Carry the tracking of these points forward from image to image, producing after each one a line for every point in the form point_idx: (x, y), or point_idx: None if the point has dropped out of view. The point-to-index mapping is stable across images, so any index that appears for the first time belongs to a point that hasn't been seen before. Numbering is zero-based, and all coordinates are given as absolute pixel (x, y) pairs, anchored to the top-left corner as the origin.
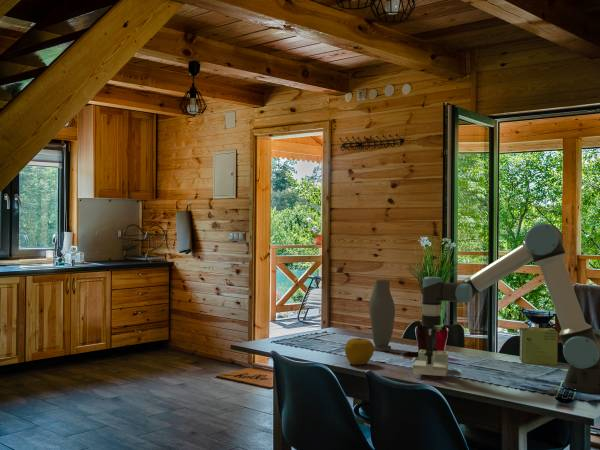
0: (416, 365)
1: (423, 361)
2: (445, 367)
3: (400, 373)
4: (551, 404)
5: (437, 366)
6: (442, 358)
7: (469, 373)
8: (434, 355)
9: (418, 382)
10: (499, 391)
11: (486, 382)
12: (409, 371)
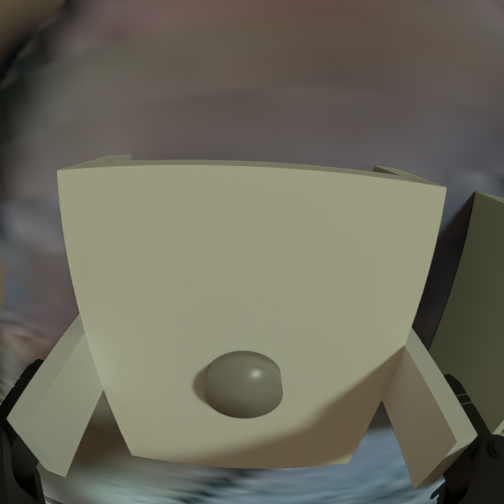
0: (65, 218)
1: (382, 297)
2: (130, 451)
3: (298, 20)
4: (55, 498)
5: (125, 417)
6: None
7: (394, 448)
8: (404, 446)
9: (9, 220)
10: (90, 481)
11: (211, 489)
12: (421, 110)
